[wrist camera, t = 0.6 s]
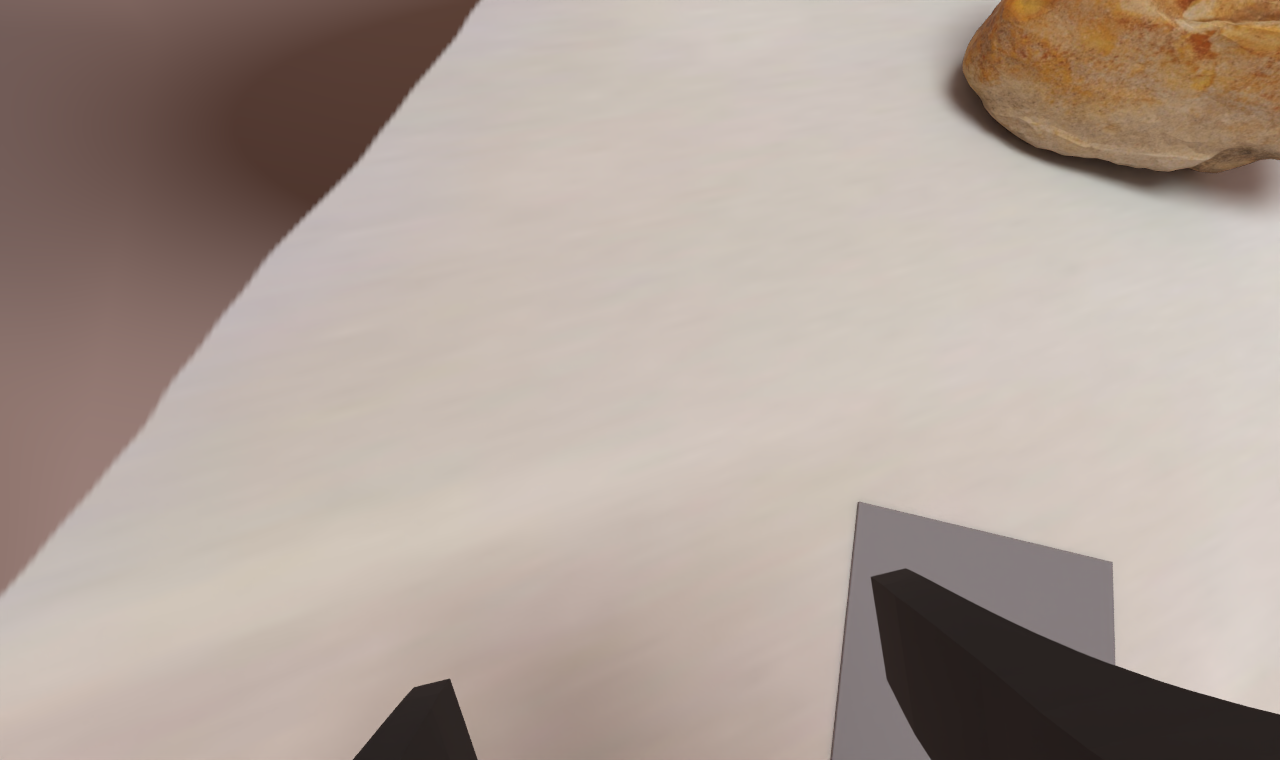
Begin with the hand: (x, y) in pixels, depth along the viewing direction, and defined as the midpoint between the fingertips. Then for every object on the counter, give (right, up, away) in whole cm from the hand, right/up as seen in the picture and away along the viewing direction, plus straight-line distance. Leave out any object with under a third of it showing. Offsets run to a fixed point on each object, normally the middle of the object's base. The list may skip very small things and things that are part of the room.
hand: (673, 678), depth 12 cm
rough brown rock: (+33, +25, +38) cm, 56 cm away
